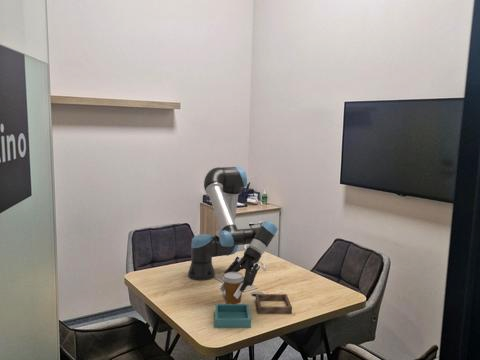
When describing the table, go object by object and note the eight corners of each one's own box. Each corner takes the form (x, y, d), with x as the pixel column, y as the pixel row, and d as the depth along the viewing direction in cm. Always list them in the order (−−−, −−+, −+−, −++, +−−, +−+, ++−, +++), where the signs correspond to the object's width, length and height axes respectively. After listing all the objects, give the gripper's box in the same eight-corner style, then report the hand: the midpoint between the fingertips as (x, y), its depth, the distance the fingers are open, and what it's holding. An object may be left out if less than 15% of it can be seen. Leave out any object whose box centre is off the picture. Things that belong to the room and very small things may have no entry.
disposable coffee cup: (247, 299, 185) (248, 273, 183) (238, 307, 176) (239, 280, 175) (228, 295, 189) (229, 270, 187) (218, 303, 180) (219, 276, 179)
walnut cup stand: (258, 313, 190) (258, 307, 190) (255, 299, 205) (255, 294, 205) (291, 313, 191) (292, 307, 190) (286, 299, 206) (286, 294, 206)
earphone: (250, 267, 241) (243, 241, 252) (244, 281, 253) (237, 256, 264) (272, 265, 245) (264, 240, 257) (264, 279, 257) (257, 255, 268)
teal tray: (214, 327, 176) (215, 319, 176) (215, 311, 191) (215, 304, 191) (250, 327, 177) (251, 319, 176) (248, 311, 192) (248, 304, 192)
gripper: (276, 261, 183) (249, 305, 174) (242, 250, 198) (216, 290, 190) (268, 252, 178) (240, 297, 170) (234, 241, 194) (207, 282, 185)
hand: (228, 293), depth 180 cm, fingers closed on disposable coffee cup, 9 cm apart
